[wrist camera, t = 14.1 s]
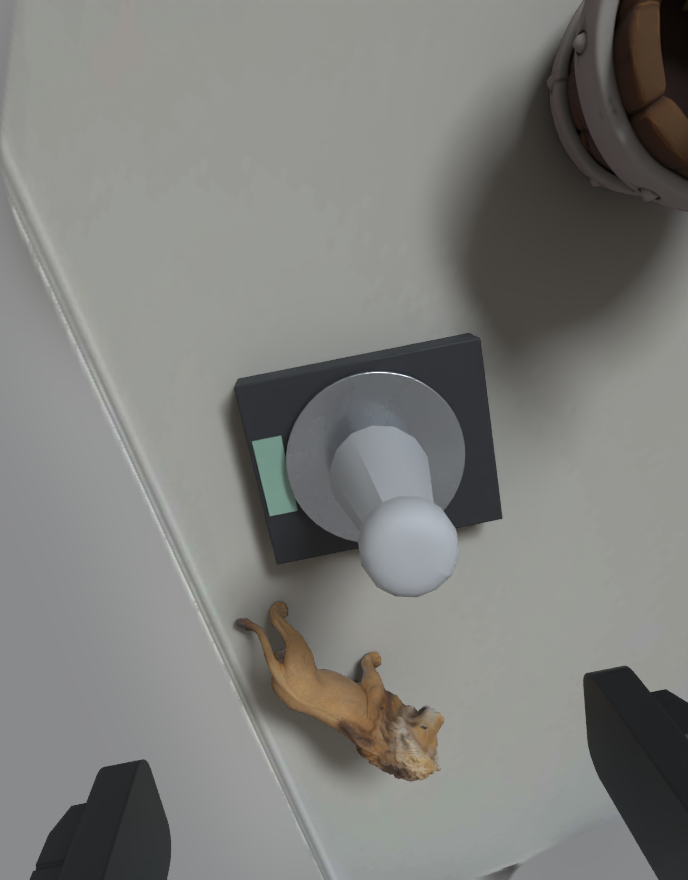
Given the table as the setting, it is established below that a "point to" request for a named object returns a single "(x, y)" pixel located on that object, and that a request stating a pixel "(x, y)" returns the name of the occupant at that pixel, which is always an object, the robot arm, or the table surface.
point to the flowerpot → (626, 97)
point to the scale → (286, 391)
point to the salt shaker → (394, 511)
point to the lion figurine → (352, 704)
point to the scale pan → (357, 408)
